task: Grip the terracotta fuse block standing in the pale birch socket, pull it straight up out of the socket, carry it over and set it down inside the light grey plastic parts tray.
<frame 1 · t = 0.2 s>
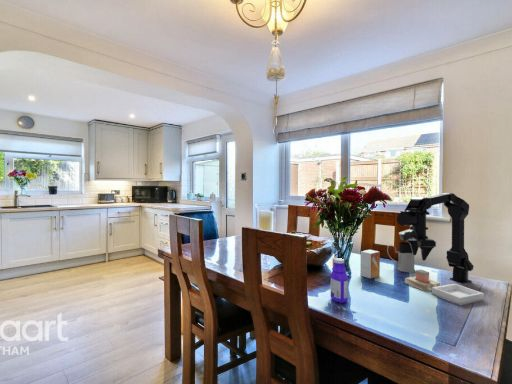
hand: (419, 257, 129), 14 cm above the table, tool pointing down, fingers open, 9 cm apart
bottle: (339, 300, 115), on the table
fuse: (422, 278, 130), in the socket
small box: (370, 276, 145), on the table
supplement bottle: (337, 273, 151), on the table
socket: (422, 285, 130), on the table
parts tray: (457, 297, 117), on the table
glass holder: (400, 269, 156), on the table
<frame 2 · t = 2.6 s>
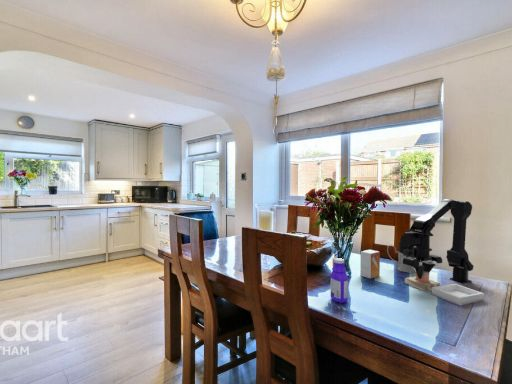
hand: (422, 278, 130), 4 cm above the table, tool pointing down, fingers closed on fuse, 3 cm apart
fuse: (422, 278, 130), in the socket, touching gripper
everything else where it was.
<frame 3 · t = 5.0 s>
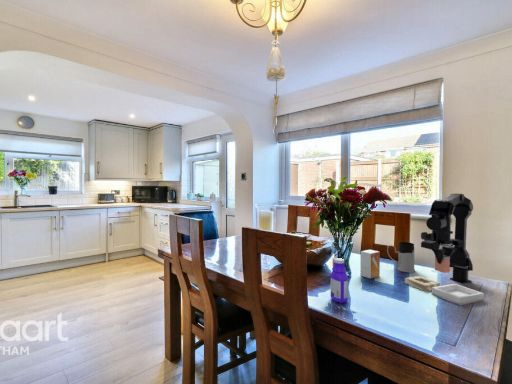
hand: (442, 263, 122), 13 cm above the table, tool pointing down, fingers closed on fuse, 3 cm apart
fuse: (442, 263, 122), point 13 cm above the table, touching gripper
everything else where it was.
when the fingers open (6 cm above the table, at t = 7.4 s): fuse drops 1 cm, resting on parts tray.
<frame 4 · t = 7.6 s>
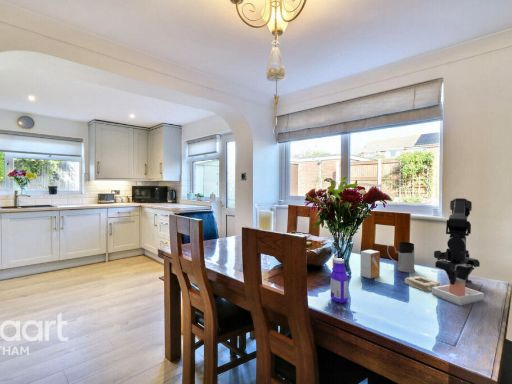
hand: (457, 283, 117), 6 cm above the table, tool pointing down, fingers open, 5 cm apart
fuse: (457, 287, 117), in the parts tray, point 4 cm above the table
everything else where it was.
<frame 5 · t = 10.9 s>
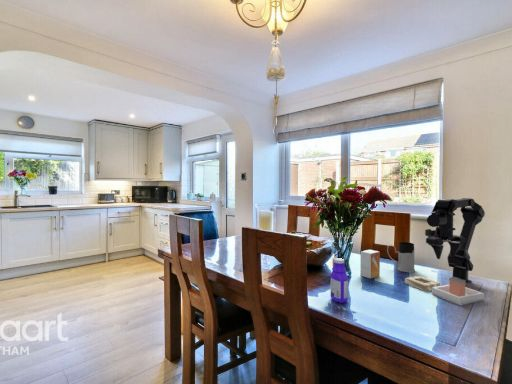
hand: (445, 258, 131), 13 cm above the table, tool pointing down, fingers open, 9 cm apart
nothing on the table moved.
at the end: fuse inside the target area on the parts tray (0.0 cm from its centre), point 4.3 cm above the parts tray's base; fuse tilted 0°; the gripper is holding nothing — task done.
